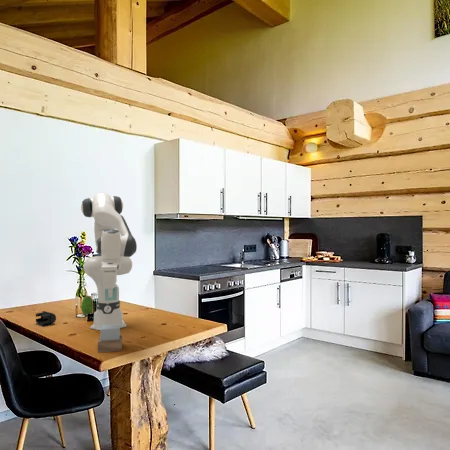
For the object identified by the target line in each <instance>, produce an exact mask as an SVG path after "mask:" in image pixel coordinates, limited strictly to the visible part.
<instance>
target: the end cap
mask: <svg viewBox="0 0 450 450" xmlns="http://www.w3.org/2000/svg"><path fill="white" fill-rule="evenodd" d="M35 317H36V318H35V324H36V326H40V327H42V328H43V327H50V326H52V325H53V324H55V323H56V320H57V315H56V314H55V313H52V312H49V311H45V310H42V311H41V312H37V313H35ZM37 317H39V318H37Z"/></svg>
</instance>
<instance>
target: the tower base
mask: <svg viewBox="0 0 450 450" xmlns="http://www.w3.org/2000/svg"><path fill="white" fill-rule="evenodd" d="M122 348H123V334H122V333H120V338H119V340H107V341H100V336H99V337H98V339H97V353H109V352H121V351H122Z"/></svg>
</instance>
